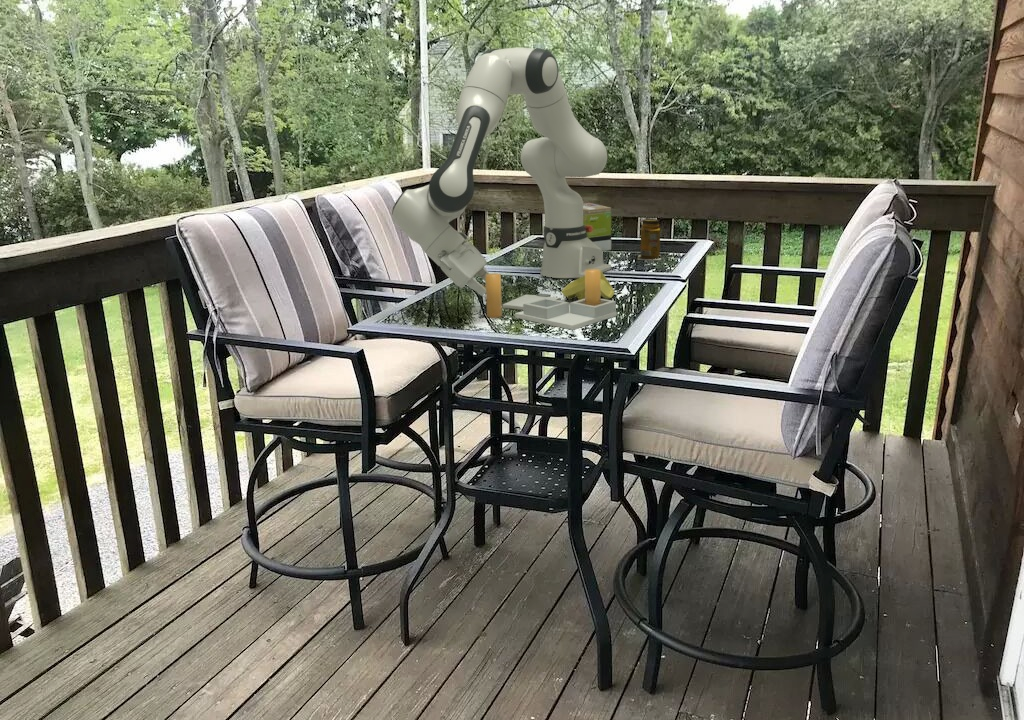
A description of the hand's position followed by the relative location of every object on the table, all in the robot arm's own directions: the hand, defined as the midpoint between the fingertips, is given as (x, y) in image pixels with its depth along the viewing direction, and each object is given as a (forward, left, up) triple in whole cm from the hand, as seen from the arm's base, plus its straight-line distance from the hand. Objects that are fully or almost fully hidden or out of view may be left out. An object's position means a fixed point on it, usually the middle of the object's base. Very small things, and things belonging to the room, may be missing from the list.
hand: (489, 288), depth 194 cm
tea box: (-85, -40, -7) cm, 94 cm away
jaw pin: (-1, +1, -7) cm, 7 cm away
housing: (-11, +15, -7) cm, 19 cm away
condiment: (-83, -13, -7) cm, 84 cm away
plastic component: (-27, +7, -7) cm, 29 cm away
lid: (-15, 0, -7) cm, 16 cm away
